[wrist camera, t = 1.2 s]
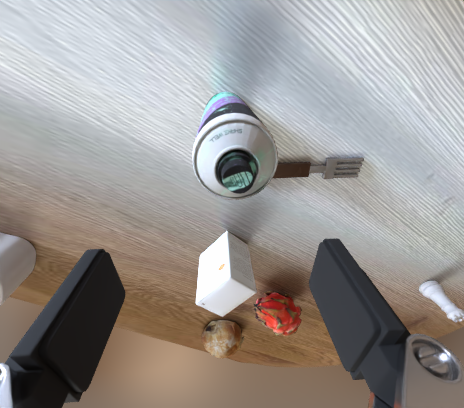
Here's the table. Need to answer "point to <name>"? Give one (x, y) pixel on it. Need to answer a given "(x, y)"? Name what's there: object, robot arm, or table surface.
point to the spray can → (233, 149)
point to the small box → (225, 275)
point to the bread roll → (222, 338)
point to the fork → (318, 168)
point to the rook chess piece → (441, 299)
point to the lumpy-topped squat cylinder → (14, 263)
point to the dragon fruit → (278, 313)
